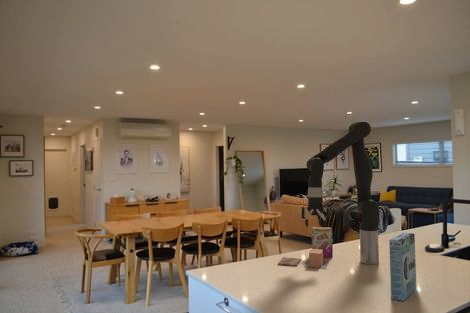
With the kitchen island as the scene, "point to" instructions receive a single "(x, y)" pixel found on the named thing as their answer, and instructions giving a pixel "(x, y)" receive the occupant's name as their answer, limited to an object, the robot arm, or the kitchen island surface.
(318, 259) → the terracotta block
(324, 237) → the candy bar box
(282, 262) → the walnut board
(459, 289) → the kitchen island surface
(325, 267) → the tile
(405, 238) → the gum box
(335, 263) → the kitchen island surface
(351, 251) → the kitchen island surface
